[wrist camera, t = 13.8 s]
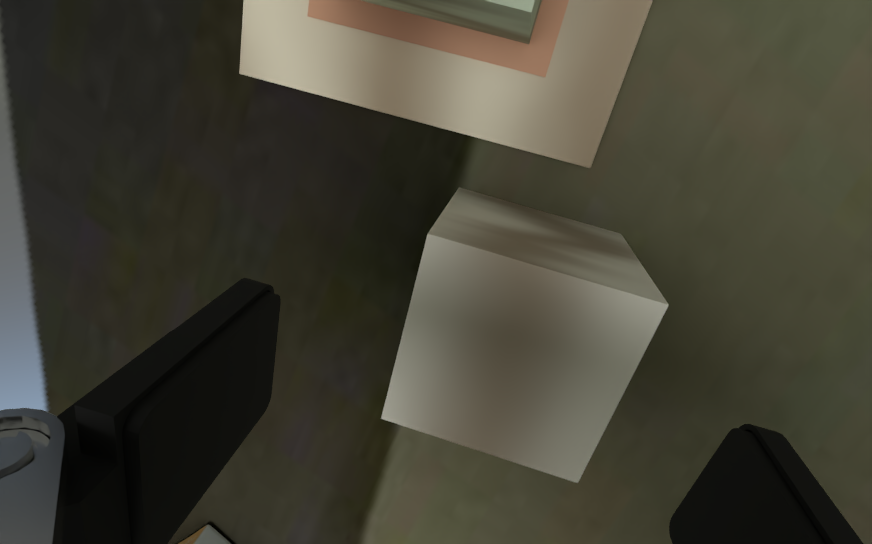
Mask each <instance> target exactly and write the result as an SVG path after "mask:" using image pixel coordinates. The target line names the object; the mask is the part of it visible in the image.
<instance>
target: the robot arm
mask: <svg viewBox="0 0 872 544" xmlns="http://www.w3.org/2000/svg"><path fill="white" fill-rule="evenodd" d="M279 311H280V296H279V295H277V294H274V289H273V287H272V286H271V285H268V284H264V283H261V282H257V281H254V280H251V279H247V278H243V279H241V280H240V281H238V282H237V283H236V284H234V285H233V286H232V287H230V288H229V289H228V290H226V291H225V292H224V293H222V294H221V295H220V296H218V297H217V298H216V299H214V300H213V301H212V302H210V303H209V304H208V305H206V306H205V307H204V308H202V309H201V310H200V311H198V312H197V313H196V314H194V315H193V316H192V317H190V318H189V319H188V320H186V321H185V322H184V323H182V324H181V325H180V326H178V327H177V328H176V329H174V330H172V331H171V332H169V333H168V334H167V335H165V336H164V337H163V338H161V339H160V340H159V341H157V342H156V343H155V344H153V345H152V346H151V347H149V348H148V349H147V350H145V351H144V352H143V353H141V354H140V355H139V356H137V357H136V358H135V359H133V360H132V361H130V362H129V363H128V364H126V365H125V366H124V367H122V368H121V369H120V370H118V371H117V372H116V373H114V374H113V375H112V376H110V377H109V378H108V379H106V380H105V381H104V382H102V383H101V384H100V385H98V386H97V387H96V388H94V389H93V390H92V391H90V392H89V393H88V394H86V395H85V396H84V397H82V398H81V399H80V400H78V401H77V402H76V403H74V404H73V405H72V406H70V407H69V408H68V409H66V410H65V411H64V412H62V413H61V414H60V415H58V416H57V417H56V416H55V415H53V414H51V413H48V412H46V411H43V410H37V409H29V408H20V409H6V410H1V411H0V544H167V543H168V542H169V540H170V539H171V538H172V536H173V535H174V534H175V532H176V531H177V530H178V528H179V527H180V525H181V524H182V523H183V521H184V520H185V519H186V517H187V516H188V515H189V513H190V512H191V511H192V509H193V508H194V507H195V505H196V504H197V503H198V501H199V500H200V499H201V497H202V496H203V494H204V493H205V492H206V490H207V489H208V488H209V486H210V485H211V484H212V482H213V481H214V480H215V478H216V477H217V476H218V474H219V473H220V472H221V470H222V469H223V468H224V466H225V465H226V463H227V462H228V461H229V459H230V458H231V457H232V455H233V454H234V453H235V451H236V450H237V449H238V447H239V446H240V445H241V443H242V442H243V441H244V439H245V438H246V437H247V435H248V434H249V433H250V431H251V430H252V428H253V427H254V426H255V424H256V423H257V422H258V420H259V419H260V418H261V416H262V415H263V414H264V412H265V411H266V409H267V407H268V404H269V402H270V398H271V393H272V382H273V372H274V362H275V352H276V342H277V332H278V321H279ZM669 531H670V537H671V540H672V543H673V544H863V543H862V541H861V540H860V539H859V537H858V536H857V535H856V533H855V532H854V530H853V529H852V528H851V526H850V525H849V524H848V522H847V521H846V520H845V518H844V517H843V516H842V514H841V513H840V511H839V510H838V509H837V507H836V506H835V505H834V503H833V502H832V501H831V499H830V498H829V496H828V495H827V494H826V492H825V491H824V490H823V488H822V487H821V486H820V484H819V483H818V481H817V480H816V479H815V477H814V476H813V475H812V473H811V472H810V471H809V469H808V468H807V467H806V465H805V464H804V462H803V461H802V460H801V458H800V457H799V456H798V454H797V453H796V452H795V450H794V449H793V447H792V446H791V445H790V443H789V442H788V441H787V439H786V438H785V437H784V436H783V435H782V434H780V433H778V432H775V431H772V430H768V429H765V428H761V427H758V426H754V425H751V424H744V425H742V426H740V427H739V429H738V428H734V429H732V430H731V431H730V432H729V433H728V434H727V436H726V437H725V439H724V440H723V442H722V443H721V445H720V446H719V448H718V449H717V451H716V452H715V453H714V455H713V456H712V458H711V459H710V461H709V462H708V464H707V465H706V467H705V468H704V470H703V471H702V473H701V474H700V476H699V477H698V479H697V480H696V482H695V483H694V485H693V486H692V488H691V489H690V491H689V492H688V493H687V495H686V496H685V498H684V499H683V501H682V502H681V504H680V505H679V507H678V508H677V510H676V511H675V513H674V514H673V516H672V518H671V521H670V526H669Z"/></svg>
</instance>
